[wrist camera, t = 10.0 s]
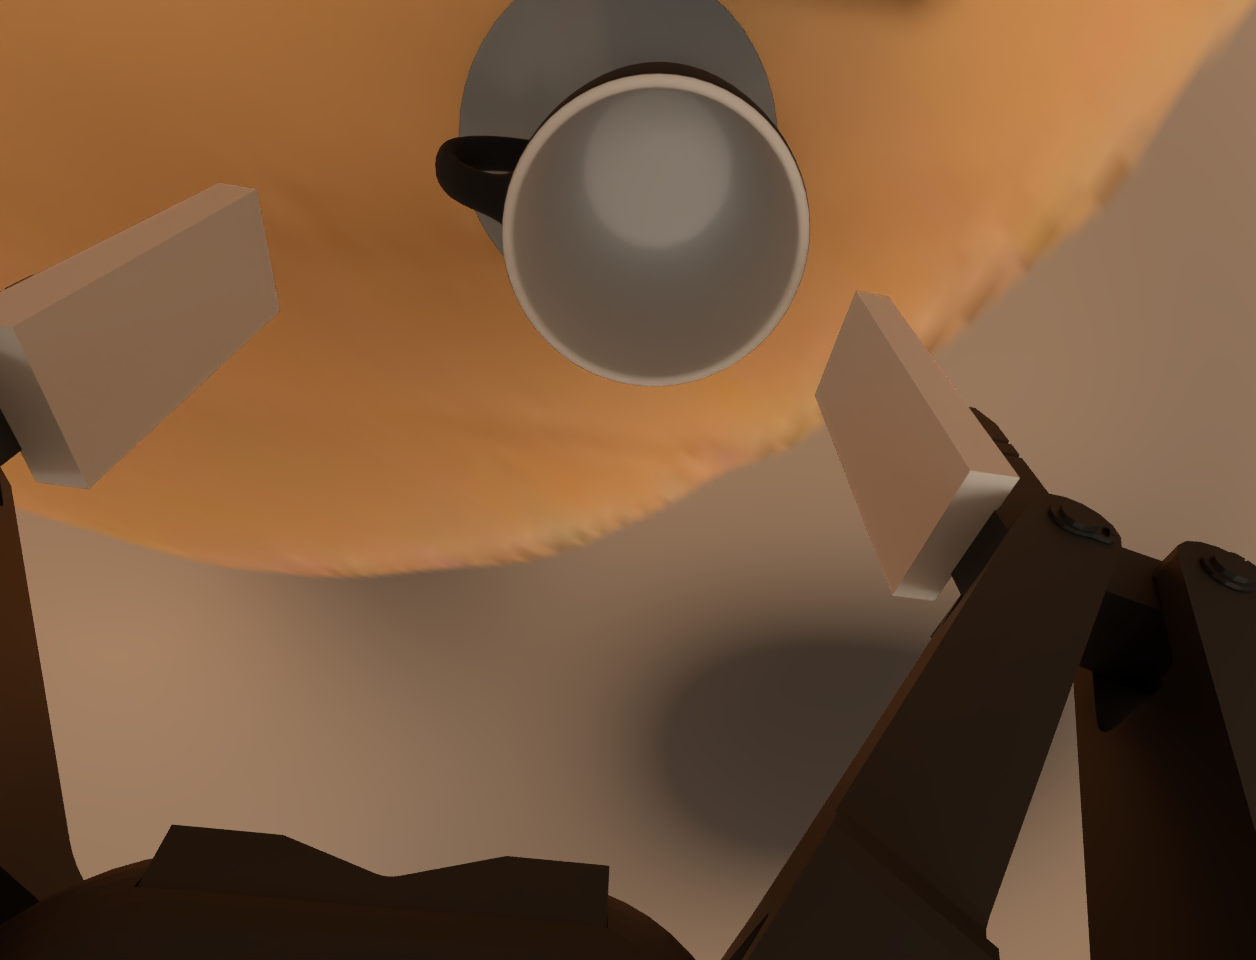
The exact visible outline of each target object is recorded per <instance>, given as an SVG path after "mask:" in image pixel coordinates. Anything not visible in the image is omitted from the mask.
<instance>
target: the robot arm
mask: <svg viewBox="0 0 1256 960" xmlns="http://www.w3.org/2000/svg"><path fill="white" fill-rule="evenodd" d="M279 312H280V309H279V303H278V298H277V293H276V287H275V282H274V277H273V272H272V266H271V261H270V256H269V250H268V245H267V240H266V234H265V229H264V224H263V219H262V213H261V208H260V203H259V197H258V192H257V189H254V188H248V187H242V186H237V185H231V184H225V183H217V184H215V185H213V186H211V187H209V188H207V189H205V190H203V191H201V192H199V193H197V194H195V195H193V196H191V197H189V198H187V199H185V200H183V201H181V202H179V203H177V204H175V205H173V206H171V207H169V208H167V209H165V210H163V211H161V212H159V213H157V214H155V215H153V216H151V217H149V218H147V219H145V220H143V221H141V222H139V223H137V224H135V225H133V226H131V227H129V228H127V229H125V230H123V231H121V232H119V233H117V234H115V235H113V236H111V237H109V238H107V239H105V240H103V241H101V242H99V243H97V244H95V245H93V246H91V247H89V248H87V249H85V250H83V251H81V252H79V253H77V254H75V255H73V256H71V257H69V258H67V259H65V260H63V261H61V262H59V263H57V264H55V265H53V266H51V267H49V268H47V269H45V270H43V271H41V272H39V273H37V274H35V275H31V276H29V277H27V278H25V279H23V280H21V281H19V282H17V283H15V284H13V285H11V286H9V287H7V288H5V290H3V291H0V466H1V465H3V464H4V463H5V462H7V461H8V460H9V459H10V458H12V457H13V456H14V455H16V454H17V453H18V452H21V454H22V456H23V457H24V459H25V461H26V463H27V465H28V467H29V469H30V471H31V472H32V474H33V476H34V478H35V480H36V482H39V483H46V484H54V485H62V486H69V487H77V488H84V489H89V488H90V487H92V486H93V485H94V484H95V483H96V482H97V481H98V480H99V479H100V478H101V477H102V476H103V475H104V474H106V473H107V472H108V471H109V470H110V469H111V468H112V467H113V466H114V465H115V464H116V463H117V462H118V461H120V460H121V459H122V458H123V457H124V456H125V455H126V454H127V453H128V452H129V451H130V450H131V449H132V448H133V447H135V446H136V445H137V444H138V443H139V442H140V441H141V440H142V439H143V438H144V437H145V436H146V435H147V434H149V433H150V432H151V431H152V430H153V429H154V428H155V427H156V426H157V425H158V424H159V423H160V422H161V421H163V420H164V419H165V418H166V417H167V416H168V415H169V414H170V413H171V412H172V411H173V410H174V409H175V408H177V407H178V406H179V405H180V404H181V403H182V402H183V401H184V400H185V399H186V398H187V397H188V396H189V395H190V394H192V393H193V392H194V391H195V390H196V389H197V388H198V387H199V386H200V385H201V384H202V383H203V382H204V381H206V380H207V379H208V378H209V377H210V376H211V375H212V374H213V373H214V372H215V371H216V370H217V369H218V368H220V367H221V366H222V365H223V364H224V363H225V362H226V361H227V360H228V359H229V358H230V357H231V356H232V355H233V354H235V353H236V352H237V351H238V350H239V349H240V348H241V347H242V346H243V345H244V344H245V343H246V342H247V341H249V340H250V339H251V338H252V337H253V336H254V335H255V334H256V333H257V332H258V331H259V330H260V329H261V328H263V327H264V326H265V325H266V324H267V323H268V322H269V321H270V320H271V319H272V318H273V317H274V316H275V315H277V314H278V313H279ZM815 397H816V399H817V402H818V404H819V407H820V410H821V412H822V415H823V417H824V420H825V423H826V425H827V428H828V430H829V433H830V436H831V438H832V441H833V443H834V446H835V448H836V451H837V454H838V456H839V459H840V461H841V464H842V467H843V469H844V472H845V474H846V477H847V480H848V482H849V484H850V487H851V490H852V492H853V495H854V497H855V500H856V503H857V505H858V508H859V510H860V513H861V516H862V518H863V521H864V524H865V526H866V529H867V531H868V534H869V536H870V539H871V542H872V544H873V547H874V549H875V552H876V555H877V557H878V560H879V562H880V565H881V567H882V570H883V573H884V575H885V578H886V580H887V583H888V586H889V588H890V591H891V593H892V595H893V596H901V597H909V598H916V599H924V600H931V601H935V599H936V598H937V597H938V595H939V594H940V592H941V591H942V589H943V588H944V586H945V585H946V584H947V582H948V581H949V579H950V578H951V576H952V577H953V579H954V581H955V583H956V585H957V587H958V589H959V591H960V594H961V595H960V597H959V598H958V599H957V601H956V602H955V604H954V605H953V606H952V608H951V609H950V610H949V612H948V613H947V615H946V616H945V617H944V619H943V620H942V621H941V623H940V624H939V626H938V627H937V628H936V630H935V631H934V632H933V634H932V635H931V640H930V641H929V643H928V644H927V646H926V648H925V649H924V651H923V652H922V654H921V655H920V657H919V658H918V660H917V661H916V663H915V665H914V666H913V668H912V669H911V671H910V672H909V674H908V675H907V677H906V678H905V680H904V682H903V683H902V685H901V686H900V688H899V689H898V691H897V692H896V694H895V696H894V697H893V699H892V700H891V702H890V703H889V705H888V706H887V708H886V709H885V711H884V713H883V714H882V715H881V717H880V719H879V720H878V722H877V723H876V725H875V726H874V728H873V729H872V731H871V732H870V734H869V736H868V737H867V739H866V740H865V742H864V743H863V745H862V746H861V748H860V750H859V751H858V753H857V754H856V756H855V757H854V759H853V760H852V762H851V763H850V765H849V766H848V768H847V770H846V771H845V773H844V774H843V776H842V777H841V779H840V780H839V782H838V783H837V785H836V786H835V788H834V790H833V791H832V793H831V794H830V796H829V797H828V799H827V800H826V802H825V804H824V805H823V806H822V808H821V810H820V811H819V813H818V814H817V816H816V817H815V819H814V820H813V822H812V823H811V825H810V827H809V828H808V830H807V831H806V833H805V834H804V836H803V837H802V839H801V840H800V842H799V844H798V845H797V847H796V848H795V850H794V851H793V853H792V854H791V856H790V857H789V859H788V860H787V862H786V864H785V865H784V867H783V868H782V870H781V871H780V873H779V874H778V876H777V877H776V879H775V881H774V882H773V884H772V885H771V887H770V888H769V890H768V891H767V893H766V894H765V896H764V898H763V899H762V901H761V902H760V904H759V905H758V907H757V908H756V910H755V911H754V913H753V914H752V916H751V917H750V919H749V920H748V922H747V923H746V925H745V926H744V928H743V929H742V930H741V932H740V933H739V935H738V936H737V937H736V939H735V940H734V942H733V943H732V944H731V946H730V947H729V949H728V950H727V952H726V953H725V955H724V956H723V958H722V959H721V960H1000V958H999V949H998V948H997V947H996V946H995V945H994V944H992V943H991V942H990V941H989V940H988V939H987V938H986V928H987V924H988V920H989V916H990V913H991V911H992V908H993V905H994V902H995V900H996V897H997V894H998V891H999V888H1000V886H1001V883H1002V880H1003V877H1004V874H1005V872H1006V869H1007V866H1008V863H1009V860H1010V857H1011V854H1012V852H1013V849H1014V846H1015V844H1016V840H1017V838H1018V835H1019V832H1020V829H1021V827H1022V824H1023V821H1024V818H1025V815H1026V812H1027V810H1028V807H1029V804H1030V802H1031V799H1032V796H1033V793H1034V790H1035V787H1036V785H1037V782H1038V779H1039V776H1040V774H1041V771H1042V768H1043V765H1044V762H1045V759H1046V757H1047V754H1048V751H1049V748H1050V745H1051V743H1052V739H1053V737H1054V734H1055V731H1056V729H1057V726H1058V723H1059V720H1060V718H1061V715H1062V712H1063V709H1064V706H1065V704H1066V701H1067V698H1068V695H1069V692H1070V689H1071V687H1072V683H1073V682H1074V698H1075V714H1076V730H1077V747H1078V763H1079V779H1080V795H1081V812H1082V828H1083V844H1084V860H1085V877H1086V893H1087V909H1088V926H1089V940H1090V941H1089V942H1090V958H1091V960H1256V566H1255V565H1254V564H1252V563H1251V562H1249V561H1244V560H1245V558H1242V557H1241V556H1239V555H1238V554H1235V553H1232V552H1227V551H1225V550H1223V549H1221V548H1219V547H1216V546H1212V545H1209V544H1206V543H1202V542H1193V541H1186V542H1183V543H1182V544H1179V545H1178V546H1177V547H1176V548H1175V549H1174V550H1173V551H1172V552H1171V553H1170V554H1169V555H1168V556H1167V557H1166V558H1165V559H1164V560H1163V561H1160V560H1157V559H1154V558H1151V557H1149V556H1146V555H1143V554H1140V553H1137V552H1134V551H1131V550H1128V549H1125V548H1122V546H1121V537H1120V535H1119V534H1118V532H1117V531H1116V530H1115V528H1114V527H1113V525H1112V524H1110V523H1109V522H1108V521H1107V520H1106V519H1105V518H1103V517H1102V516H1101V515H1100V514H1098V513H1097V512H1095V511H1093V510H1092V509H1090V508H1088V507H1086V506H1085V505H1083V504H1081V503H1079V502H1076V501H1074V500H1071V499H1069V498H1066V497H1062V496H1058V495H1052V494H1049V493H1048V492H1047V490H1046V489H1045V488H1044V487H1043V485H1042V484H1041V483H1040V481H1039V480H1038V479H1037V477H1036V476H1035V475H1034V473H1033V472H1032V471H1031V469H1030V468H1029V467H1028V466H1027V464H1026V463H1025V462H1024V460H1023V459H1022V458H1019V454H1018V452H1017V451H1016V450H1015V448H1014V447H1013V446H1012V444H1008V442H1009V440H1008V439H1007V438H1006V436H1005V435H1004V434H1003V433H1002V431H1001V430H1000V429H999V427H998V426H997V425H996V424H995V423H994V422H993V421H991V420H990V419H989V418H987V417H986V416H985V415H983V414H982V413H981V412H980V411H978V410H977V409H976V408H972V407H968V406H967V404H966V403H965V402H964V400H963V399H962V397H961V396H960V395H959V393H958V392H957V390H956V389H955V388H954V386H953V385H952V384H951V382H950V381H949V379H948V378H947V377H946V375H945V374H944V373H943V371H942V370H941V369H940V367H939V366H938V364H937V363H936V362H935V360H934V359H933V357H932V356H931V355H930V353H929V352H928V350H927V349H926V348H925V346H924V345H923V344H922V342H921V341H920V339H919V338H918V337H917V335H916V334H915V333H914V331H913V330H912V328H911V327H910V326H909V324H908V323H907V322H906V320H905V319H904V317H903V316H902V315H901V313H900V312H899V311H898V309H897V308H896V306H895V305H894V304H893V302H892V301H891V299H890V298H889V297H888V296H882V295H876V294H870V293H865V292H859V291H856V292H855V295H854V297H853V300H852V302H851V305H850V308H849V310H848V313H847V315H846V318H845V320H844V323H843V325H842V328H841V330H840V333H839V335H838V338H837V340H836V343H835V345H834V348H833V350H832V353H831V355H830V358H829V360H828V363H827V365H826V368H825V370H824V373H823V375H822V378H821V380H820V383H819V386H818V388H817V391H816V393H815ZM608 882H609V866H605V865H595V864H585V863H574V862H563V861H553V860H542V859H532V858H521V857H510V856H505V857H499V858H494V859H488V860H483V861H477V862H472V863H467V864H462V865H456V866H451V867H445V868H440V869H434V870H429V871H424V872H418V873H413V874H408V875H402V876H395V877H387V876H381V875H378V874H375V873H373V872H371V871H368V870H366V869H363V868H361V867H359V866H356V865H353V864H351V863H349V862H347V861H344V860H342V859H339V858H337V857H335V856H332V855H330V854H327V853H325V852H323V851H320V850H318V849H315V848H313V847H310V846H308V845H306V844H303V843H301V842H299V841H296V840H294V839H291V838H289V837H286V836H284V835H276V834H266V833H255V832H245V831H234V830H224V829H213V828H203V827H191V826H181V825H171V827H170V829H169V831H168V833H167V834H166V836H165V838H164V840H163V842H162V843H161V845H160V847H159V849H158V851H157V852H156V854H155V856H154V858H153V859H147V860H143V861H140V862H136V863H133V864H129V865H126V866H122V867H119V868H115V869H112V870H109V871H107V872H104V873H102V874H99V875H96V876H94V877H91V878H89V879H86V880H83V878H82V876H81V874H80V872H79V870H78V867H77V865H76V862H75V859H74V857H73V853H72V849H71V845H70V840H69V834H68V828H67V821H66V816H65V810H64V804H63V797H62V791H61V785H60V779H59V773H58V767H57V761H56V755H55V749H54V743H53V737H52V731H51V725H50V719H49V713H48V707H47V701H46V694H45V689H44V682H43V676H42V671H41V664H40V658H39V652H38V646H37V640H36V634H35V628H34V622H33V616H32V610H31V604H30V598H29V592H28V586H27V580H26V573H25V567H24V562H23V555H22V549H21V543H20V537H19V532H18V525H17V519H16V513H15V507H14V501H13V495H12V489H11V485H10V483H9V481H8V480H7V478H6V476H5V474H4V473H3V471H2V469H1V467H0V960H695V959H694V957H693V956H692V955H691V954H690V953H689V952H688V951H687V950H686V949H685V948H684V947H683V946H682V945H681V944H680V943H679V942H678V941H677V940H676V939H675V938H674V937H673V936H672V935H671V934H670V933H669V932H668V931H667V930H665V929H664V928H663V927H661V926H660V925H659V924H658V923H656V922H655V921H654V920H652V919H651V918H650V917H649V916H647V915H645V914H644V913H642V912H640V911H639V910H637V909H635V908H634V907H632V906H630V905H629V904H627V903H625V902H623V901H621V900H618V899H616V898H614V897H611V896H609V895H608Z"/></svg>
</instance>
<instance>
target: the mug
mask: <svg viewBox="0 0 1256 960" xmlns="http://www.w3.org/2000/svg"><path fill="white" fill-rule="evenodd" d="M435 166H436V176H437V179H438V182H439V184H440V186H441V187H442V188H443V190H444V191H445V192H446V193H447V194H448V195H449V196H450V197H451V198H453V199H454V200H456V201H457V202H459V203H461V204H463V205H465V206H467V207H469V208H471V209H473V210H476V211H478V212H480V213H482V214H484V215H486V216H488V217H490V218H492V219H494V220H496V221H497V222H499V223H500V224H502V241H503V252H504V259H505V265H506V268H507V272H508V276H509V280H510V282H511V285H512V288H513V291H514V293H515V295H516V297H517V299H518V302H519V304H520V306H521V307H522V309H523V311H524V313H525V314H526V316H527V318H528V319H529V320H530V322H531V323H532V325H533V326H534V327H535V329H536V330H537V331H538V332H539V333H540V334H541V336H542V337H543V338H544V339H545V340H546V341H547V342H548V343H549V344H550V345H551V346H552V347H553V348H554V349H555V350H557V351H558V352H559V353H560V354H562V355H563V356H564V357H566V358H567V359H569V360H570V361H571V362H573V363H574V364H576V365H578V366H580V367H581V368H583V369H585V370H587V371H589V372H591V373H594V374H596V375H598V376H601V377H604V378H607V379H610V380H613V381H617V382H621V383H625V384H632V385H639V386H669V385H677V384H683V383H688V382H692V381H695V380H699V379H702V378H705V377H708V376H710V375H713V374H715V373H717V372H719V371H722V370H724V369H726V368H728V367H729V366H731V365H733V364H734V363H736V362H738V361H739V360H740V359H742V358H743V357H745V356H746V355H747V354H749V353H750V352H751V351H752V350H754V349H755V348H756V347H757V346H758V345H759V344H760V343H761V342H762V341H763V340H764V339H765V338H766V337H767V336H768V335H769V334H770V333H771V332H772V330H773V329H774V328H775V327H776V326H777V324H778V323H779V322H780V320H781V319H782V317H783V316H784V314H785V313H786V311H787V309H788V308H789V306H790V304H791V302H792V300H793V298H794V296H795V294H796V292H797V289H798V287H799V285H800V282H801V278H802V275H803V272H804V269H805V264H806V260H807V255H808V247H809V236H810V218H809V205H808V200H807V194H806V189H805V186H804V182H803V179H802V175H801V172H800V170H799V167H798V165H797V162H796V160H795V158H794V156H793V154H792V152H791V150H790V148H789V146H788V144H787V142H786V141H785V139H784V138H783V136H782V135H781V133H780V132H779V130H778V129H777V127H776V126H775V124H774V123H773V122H772V121H771V120H770V118H769V117H768V116H767V115H766V114H765V113H764V111H763V110H762V109H761V108H760V107H758V106H757V105H756V104H755V103H754V102H753V101H752V100H751V99H750V98H749V97H748V96H746V95H745V94H744V93H743V92H741V91H740V90H739V89H737V88H736V87H735V86H733V85H732V84H730V83H728V82H727V81H725V80H723V79H722V78H720V77H718V76H716V75H714V74H711V73H709V72H707V71H705V70H702V69H699V68H696V67H693V66H689V65H685V64H679V63H673V62H645V63H639V64H633V65H629V66H625V67H622V68H618V69H615V70H613V71H610V72H608V73H606V74H603V75H601V76H599V77H597V78H596V79H594V80H592V81H590V82H588V83H587V84H585V85H584V86H582V87H581V88H579V89H578V90H576V91H575V92H574V93H572V94H571V95H570V96H568V97H567V98H566V99H565V100H564V101H563V102H561V103H560V104H559V105H558V106H557V107H556V108H555V109H554V110H553V111H552V112H551V113H550V114H549V115H548V116H547V117H546V119H545V120H544V121H543V122H542V123H541V124H540V126H539V127H538V128H537V130H536V131H535V133H534V134H533V135H532V137H531V138H530V140H527V139H520V138H511V137H501V136H464V137H457V138H453V139H450V140H448V141H446V142H445V143H444V144H443V145H442V146H441V147H440V149H439V151H438V153H437V156H436V163H435ZM484 171H503V172H509V173H506V174H491V173H487V172H484Z"/></svg>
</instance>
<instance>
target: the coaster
mask: <svg viewBox="0 0 1256 960" xmlns="http://www.w3.org/2000/svg"><path fill="white" fill-rule="evenodd" d="M645 62H673V63H679V64H685V65H689V66H693V67H696V68H699V69H702V70H705V71H707V72H709V73H711V74H714V75H716V76H718V77H720V78H722V79H723V80H725V81H727V82H728V83H730V84H732V85H733V86H735V87H736V88H737V89H739V90H740V91H741V92H743V93H744V94H745V95H746V96H748V97H749V98H750V99H751V100H752V101H753V102H754V103H755V104H756V105H757V106H758V107H760V108H761V109H762V110H763V111H764V113H765V114H766V115H767V116H768V117H769V118H770V120H771V121H772V122H773V123H774V124H775V126H776V127H777V120H776V114H775V107H774V100H773V96H772V92H771V89H770V85H769V82H768V78H767V75H766V72H765V70H764V68H763V65H762V63H761V61H760V58H759V56H758V54H757V52H756V50H755V48H754V47H753V45H752V43H751V42H750V40H749V38H748V36H747V35H746V33H745V31H744V30H743V29H742V28H741V26H740V25H739V24H738V23H737V21H736V20H735V19H734V18H733V16H732V15H731V14H730V12H729V11H728V10H727V9H725V8H724V7H723V6H722V5H721V4H720V3H719V2H718V1H717V0H515V1H514V2H513V3H511V4H510V6H509V7H508V8H507V9H506V10H505V11H504V12H503V14H502V15H501V16H500V17H499V18H498V19H497V20H496V22H495V23H494V25H493V26H492V28H491V29H490V31H489V32H488V34H487V35H486V37H485V38H484V40H483V42H482V43H481V46H480V48H479V50H478V52H477V54H476V56H475V58H474V60H473V63H472V65H471V68H470V71H469V75H468V78H467V81H466V84H465V87H464V93H463V98H462V104H461V109H460V125H459V137H464V136H501V137H511V138H520V139H527V140H530V138H531V137H532V135H533V134H534V133H535V131H536V130H537V128H538V127H539V126H540V124H541V123H542V122H543V121H544V120H545V119H546V117H547V116H548V115H549V114H550V113H551V112H552V111H553V110H554V109H555V108H556V107H557V106H558V105H559V104H560V103H561V102H563V101H564V100H565V99H566V98H567V97H568V96H570V95H571V94H572V93H574V92H575V91H576V90H578V89H579V88H581V87H582V86H584V85H585V84H587V83H588V82H590V81H592V80H594V79H596V78H597V77H599V76H601V75H603V74H606V73H608V72H610V71H613V70H615V69H618V68H622V67H625V66H629V65H633V64H639V63H645ZM484 172H487V173H491V174H506V173H509V172H503V171H484ZM475 211H476V210H475ZM476 213H477V215H478V218H479V220H480V222H481V223H482V225H483V227H484V229H485V230H486V232H487V234H488V236H489V237H490V239H491V240H492V241H493V243H494V244H495V246H496V247H497V248H498V250H499V251H500V252H501V254H502V255H503V256H504V252H503V241H502V224H500V223H499V222H497V221H496V220H494V219H492V218H490V217H488V216H486V215H484V214H482V213H480V212H478V211H476Z"/></svg>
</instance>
